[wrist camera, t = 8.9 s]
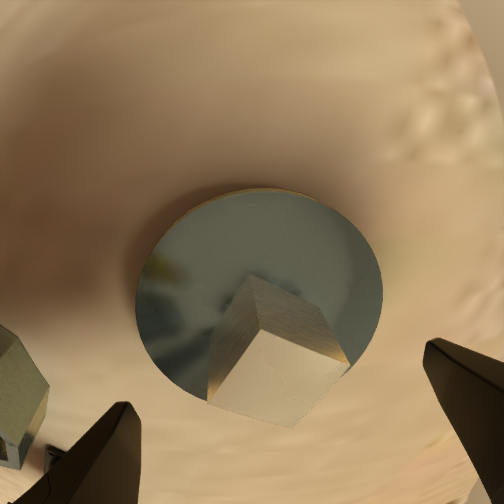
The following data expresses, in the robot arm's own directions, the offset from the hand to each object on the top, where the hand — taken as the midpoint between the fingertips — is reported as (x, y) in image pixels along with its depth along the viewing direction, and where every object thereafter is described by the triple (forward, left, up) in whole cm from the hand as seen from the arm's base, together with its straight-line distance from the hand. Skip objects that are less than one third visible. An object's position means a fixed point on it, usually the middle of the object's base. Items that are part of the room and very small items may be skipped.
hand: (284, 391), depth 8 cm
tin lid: (0, 0, -6) cm, 6 cm away
